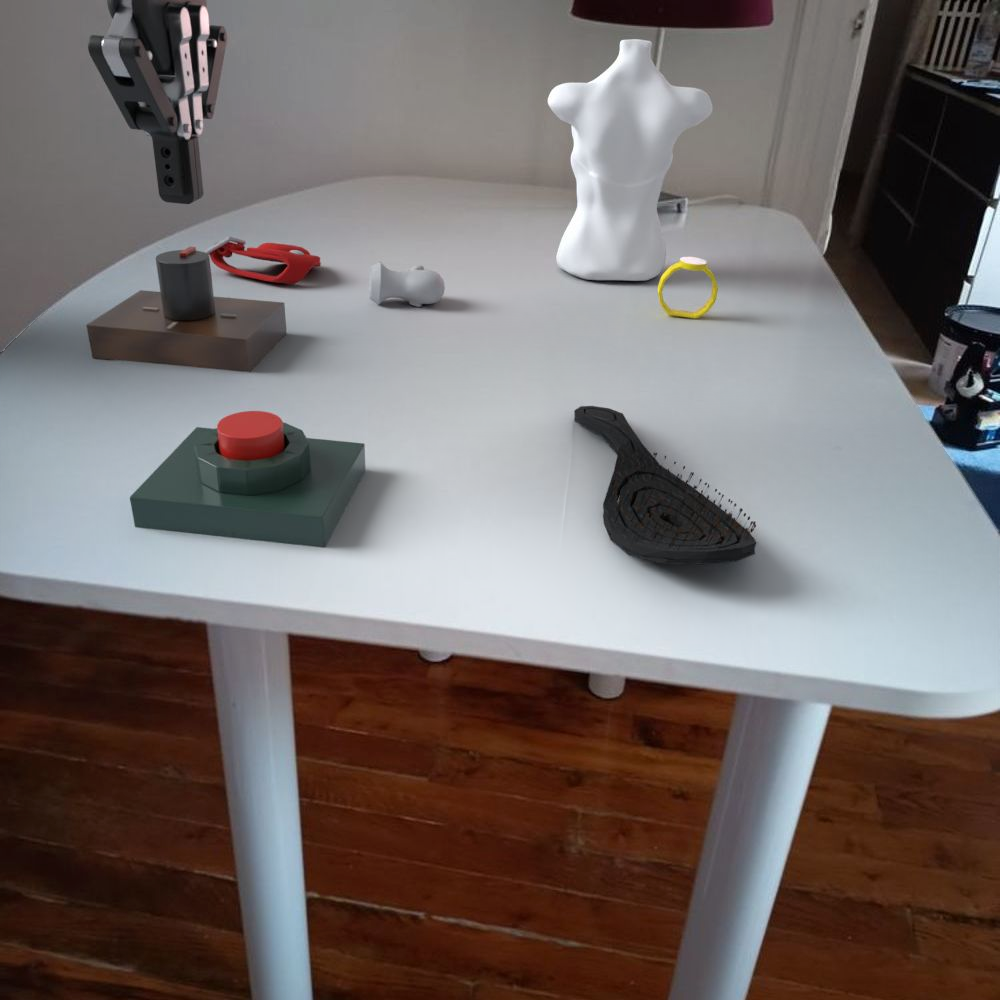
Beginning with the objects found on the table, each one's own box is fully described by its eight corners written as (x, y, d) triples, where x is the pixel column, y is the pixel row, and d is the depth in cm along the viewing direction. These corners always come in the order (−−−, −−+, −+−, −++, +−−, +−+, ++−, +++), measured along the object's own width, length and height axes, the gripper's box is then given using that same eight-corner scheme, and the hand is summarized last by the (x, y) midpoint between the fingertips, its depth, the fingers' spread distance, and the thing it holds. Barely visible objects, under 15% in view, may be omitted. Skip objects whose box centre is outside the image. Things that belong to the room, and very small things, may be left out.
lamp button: (209, 460, 57) (206, 434, 56) (233, 432, 60) (231, 408, 59) (272, 466, 56) (270, 441, 55) (293, 438, 60) (291, 413, 59)
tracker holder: (306, 248, 108) (338, 248, 100) (303, 286, 109) (335, 289, 100) (201, 232, 101) (227, 231, 93) (199, 273, 102) (224, 275, 94)
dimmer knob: (203, 323, 79) (195, 262, 76) (154, 318, 80) (145, 257, 77) (223, 307, 83) (216, 248, 80) (177, 302, 83) (169, 244, 81)
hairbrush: (637, 379, 73) (793, 530, 52) (632, 422, 75) (782, 585, 53) (537, 385, 71) (655, 543, 50) (534, 428, 73) (648, 600, 51)
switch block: (134, 527, 56) (124, 470, 54) (200, 454, 65) (193, 402, 63) (324, 548, 55) (321, 491, 53) (365, 471, 64) (364, 419, 62)
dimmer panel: (92, 358, 79) (85, 323, 77) (145, 320, 88) (140, 288, 86) (248, 372, 78) (245, 337, 76) (286, 333, 86) (284, 300, 85)
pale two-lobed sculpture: (445, 309, 98) (441, 309, 93) (371, 303, 98) (363, 303, 93) (448, 268, 97) (444, 266, 92) (373, 262, 97) (365, 260, 92)
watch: (655, 318, 95) (663, 261, 92) (653, 310, 98) (661, 254, 95) (713, 322, 95) (723, 265, 92) (710, 313, 97) (719, 258, 94)
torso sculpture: (673, 262, 114) (704, 39, 102) (694, 286, 106) (732, 46, 93) (529, 259, 112) (544, 31, 100) (540, 283, 104) (557, 37, 91)
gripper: (135, -135, 53) (170, 174, 62) (-1, -162, 42) (66, 220, 51) (259, -126, 53) (277, 184, 62) (155, -152, 41) (196, 233, 50)
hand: (182, 200), depth 56 cm, fingers closed
